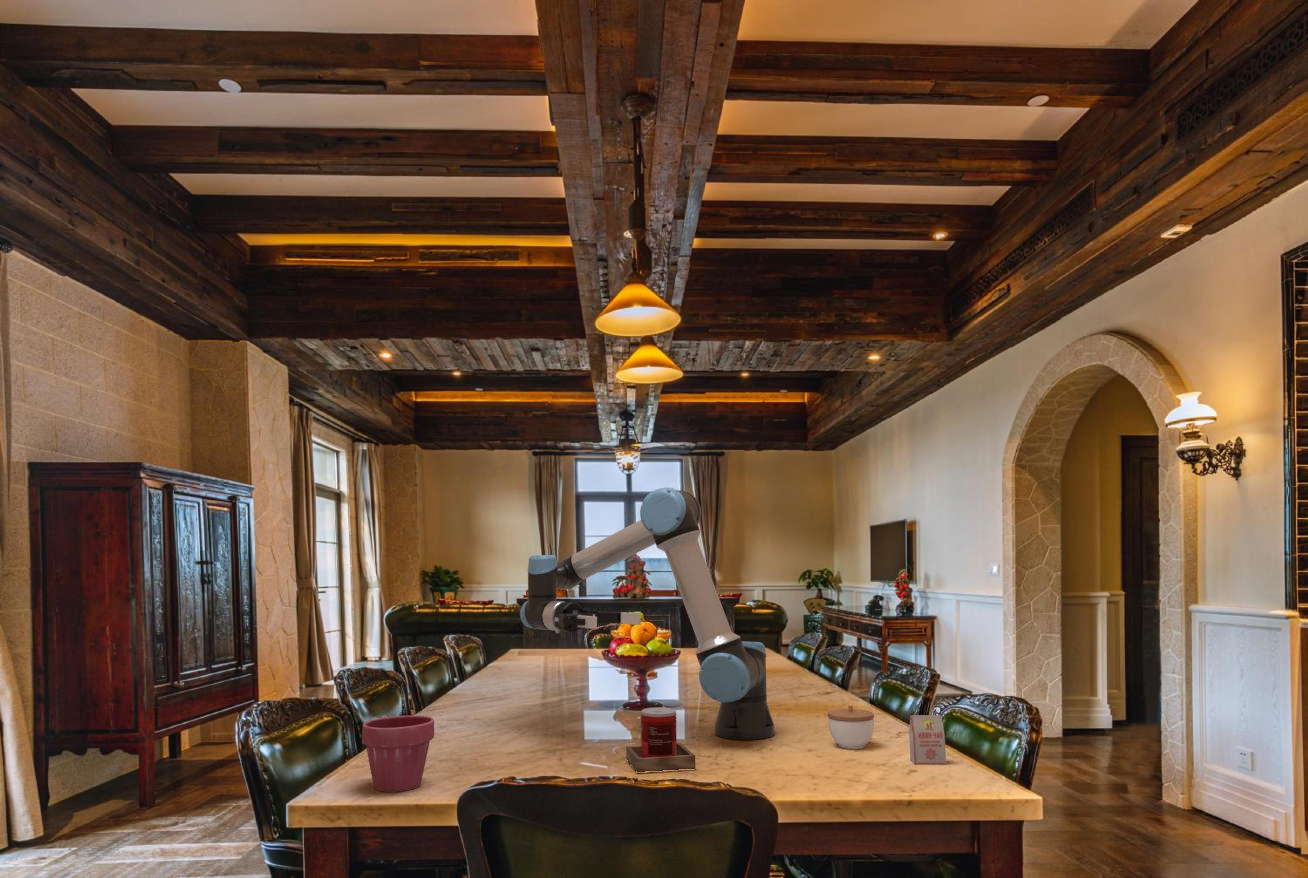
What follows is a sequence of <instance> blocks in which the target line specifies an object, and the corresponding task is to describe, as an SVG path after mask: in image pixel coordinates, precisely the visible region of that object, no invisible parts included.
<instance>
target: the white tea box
mask: <svg viewBox="0 0 1308 878" xmlns="http://www.w3.org/2000/svg"><path fill="white" fill-rule="evenodd" d="M908 735H909V739H908V741H909V757H910V758H909V761H910V762H911V764H913V765H915V766H917V765H919V766H920V765H921V766H923V765H926V766H929V765H930V766H931V765H933V766H936V765H937V766H944V765H947V756H946V752H947V751H946V735H945V729H944V724H943V716H942V715H939V714H938V715H936V714H935V715H934V714H929V715H927V714H926V715H925V714H924V715H923V714H922V715H919V714H917V715H916V714H913V715H909V731H908Z"/></svg>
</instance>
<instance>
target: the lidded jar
mask: <svg viewBox="0 0 1308 878" xmlns="http://www.w3.org/2000/svg"><path fill="white" fill-rule="evenodd" d="M853 707H854V706H853V705H852V704H851V705H850V704H849V705H848V706H847V708H837V709H831V710H829V711H828V712H827V718H828V719H827V720H828V729H829V732H830V735H831V737H832V739H833V740H834V741H835V742H836V744H837V745H838V747H839V748H841V749H846V750H861V749H862V750H863V749H864V748H866V746H867V744H868V743H870V741H871V740H872V737H873V733H874V725H875V722H874V719H875V714H874V712H873V711H869V710H866V709H860V708H853Z"/></svg>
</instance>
